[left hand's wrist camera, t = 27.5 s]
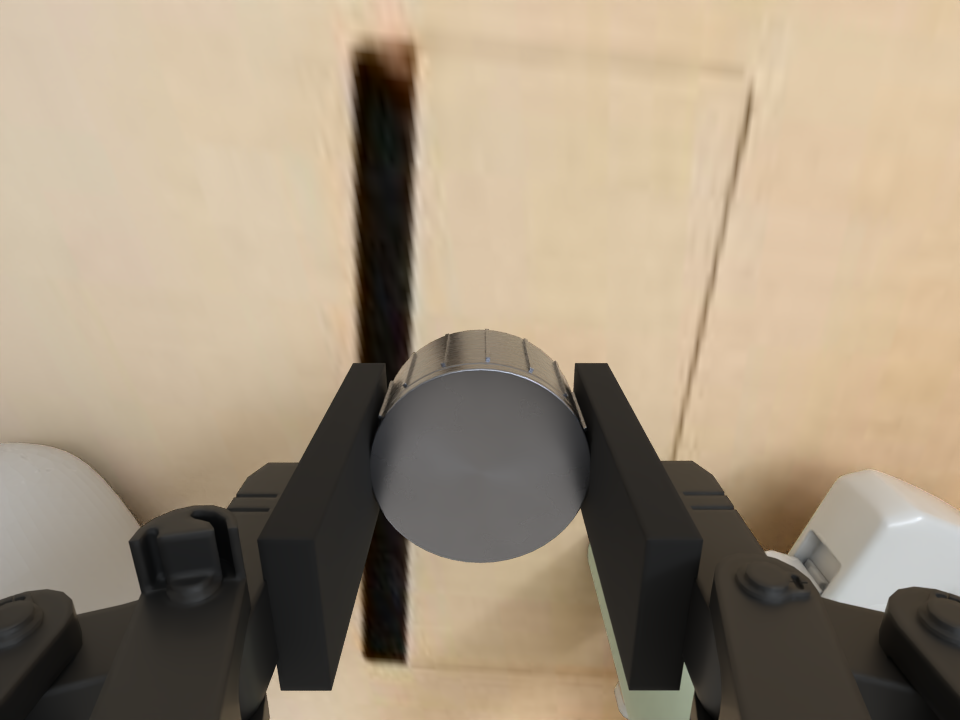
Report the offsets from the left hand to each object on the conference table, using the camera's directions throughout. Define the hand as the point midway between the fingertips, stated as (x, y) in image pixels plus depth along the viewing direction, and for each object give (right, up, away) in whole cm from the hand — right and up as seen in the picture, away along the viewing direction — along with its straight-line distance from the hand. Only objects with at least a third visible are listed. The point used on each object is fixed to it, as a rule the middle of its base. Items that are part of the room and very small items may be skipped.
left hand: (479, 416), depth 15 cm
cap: (0, -1, -2) cm, 2 cm away
